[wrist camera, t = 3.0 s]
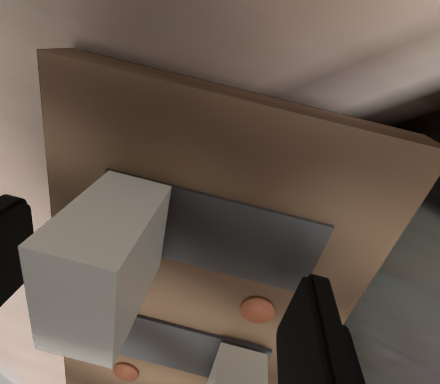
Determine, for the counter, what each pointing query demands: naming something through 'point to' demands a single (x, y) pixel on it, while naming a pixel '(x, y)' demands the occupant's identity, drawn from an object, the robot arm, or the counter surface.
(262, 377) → the knob middle
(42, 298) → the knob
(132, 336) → the switch board
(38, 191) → the counter surface
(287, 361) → the robot arm
